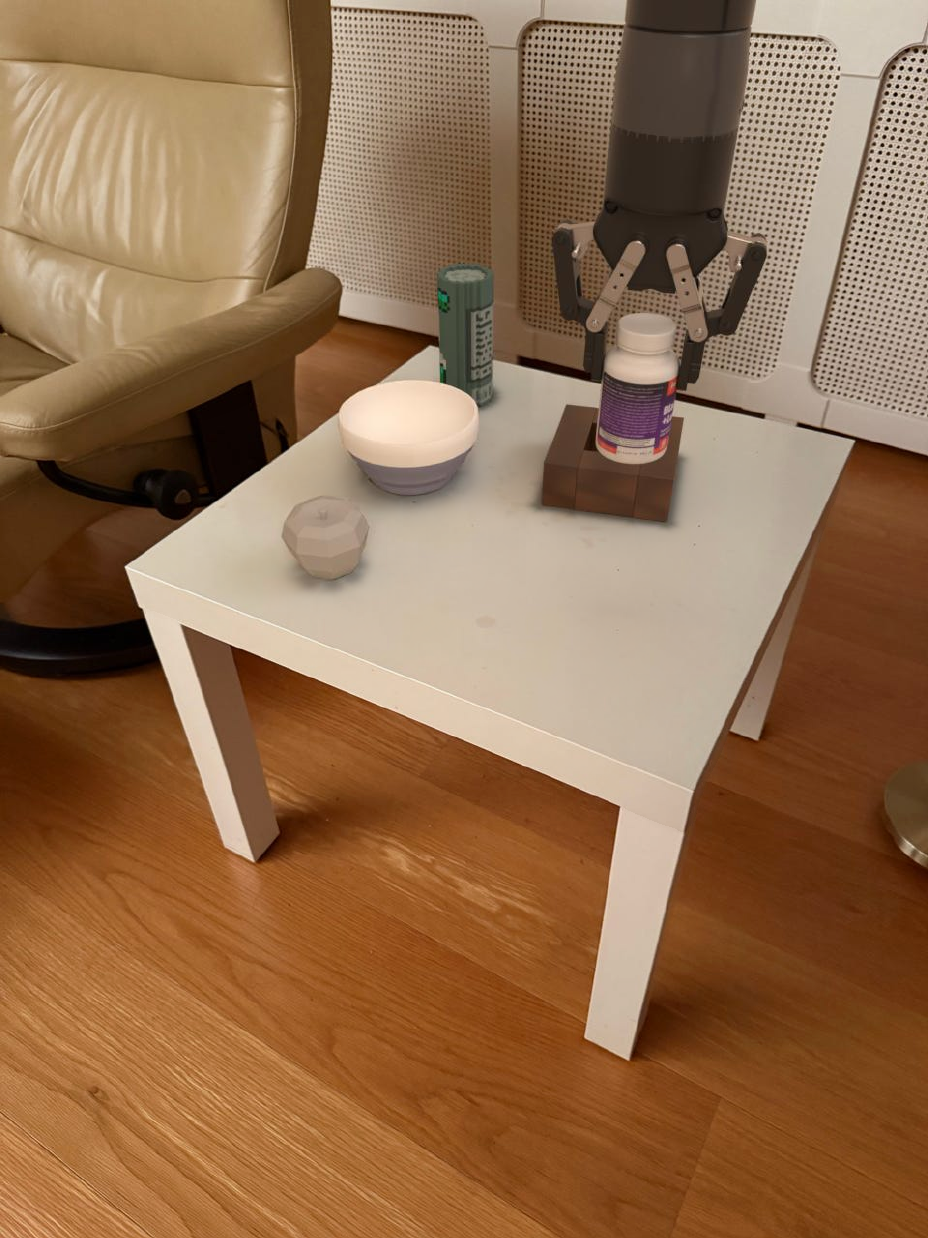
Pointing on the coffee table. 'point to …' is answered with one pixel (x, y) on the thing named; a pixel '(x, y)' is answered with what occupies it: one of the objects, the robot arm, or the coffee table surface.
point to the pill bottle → (638, 390)
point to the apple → (326, 536)
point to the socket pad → (606, 472)
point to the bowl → (409, 433)
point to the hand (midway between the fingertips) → (639, 380)
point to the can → (466, 329)
